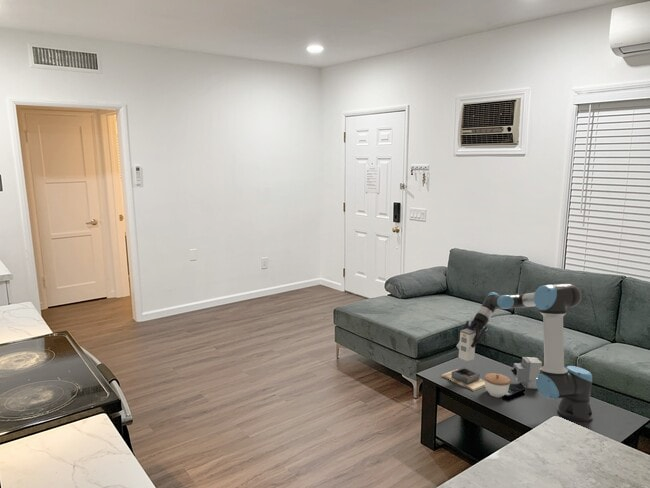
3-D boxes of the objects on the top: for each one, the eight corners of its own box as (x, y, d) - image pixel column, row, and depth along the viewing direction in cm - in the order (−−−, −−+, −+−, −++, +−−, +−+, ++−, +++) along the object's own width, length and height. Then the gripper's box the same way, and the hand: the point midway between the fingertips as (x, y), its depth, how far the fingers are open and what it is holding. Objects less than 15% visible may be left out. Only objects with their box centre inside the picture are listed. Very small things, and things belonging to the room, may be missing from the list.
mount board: (489, 384, 260) (489, 382, 260) (473, 391, 252) (473, 389, 252) (457, 370, 278) (457, 369, 278) (441, 376, 270) (441, 374, 270)
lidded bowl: (514, 398, 245) (515, 378, 244) (493, 401, 241) (495, 381, 240) (498, 387, 257) (499, 368, 255) (478, 390, 253) (480, 371, 252)
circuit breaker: (509, 381, 265) (511, 356, 262) (534, 382, 264) (537, 357, 262) (513, 387, 257) (516, 361, 255) (540, 388, 257) (542, 362, 254)
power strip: (474, 358, 263) (476, 331, 260) (466, 361, 259) (468, 333, 257) (465, 355, 268) (467, 328, 265) (458, 357, 264) (459, 330, 261)
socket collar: (479, 379, 264) (479, 373, 263) (467, 384, 257) (467, 378, 257) (463, 372, 272) (464, 367, 272) (451, 377, 266) (451, 371, 266)
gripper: (500, 324, 262) (479, 358, 255) (471, 315, 277) (452, 347, 270) (495, 317, 258) (474, 351, 251) (466, 308, 273) (446, 340, 266)
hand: (462, 349), depth 260 cm, fingers closed on power strip, 6 cm apart
